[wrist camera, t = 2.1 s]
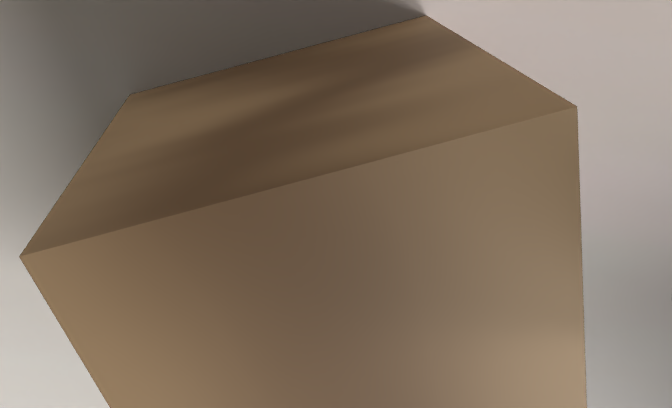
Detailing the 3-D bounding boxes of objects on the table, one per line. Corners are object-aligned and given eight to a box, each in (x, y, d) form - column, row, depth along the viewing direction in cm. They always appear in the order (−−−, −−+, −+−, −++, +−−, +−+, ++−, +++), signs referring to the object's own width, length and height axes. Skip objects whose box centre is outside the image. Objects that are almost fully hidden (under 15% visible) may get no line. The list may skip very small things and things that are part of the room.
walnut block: (425, 14, 11) (577, 105, 6) (462, 260, 14) (589, 472, 9) (130, 94, 11) (19, 257, 6) (227, 324, 14) (210, 573, 9)
